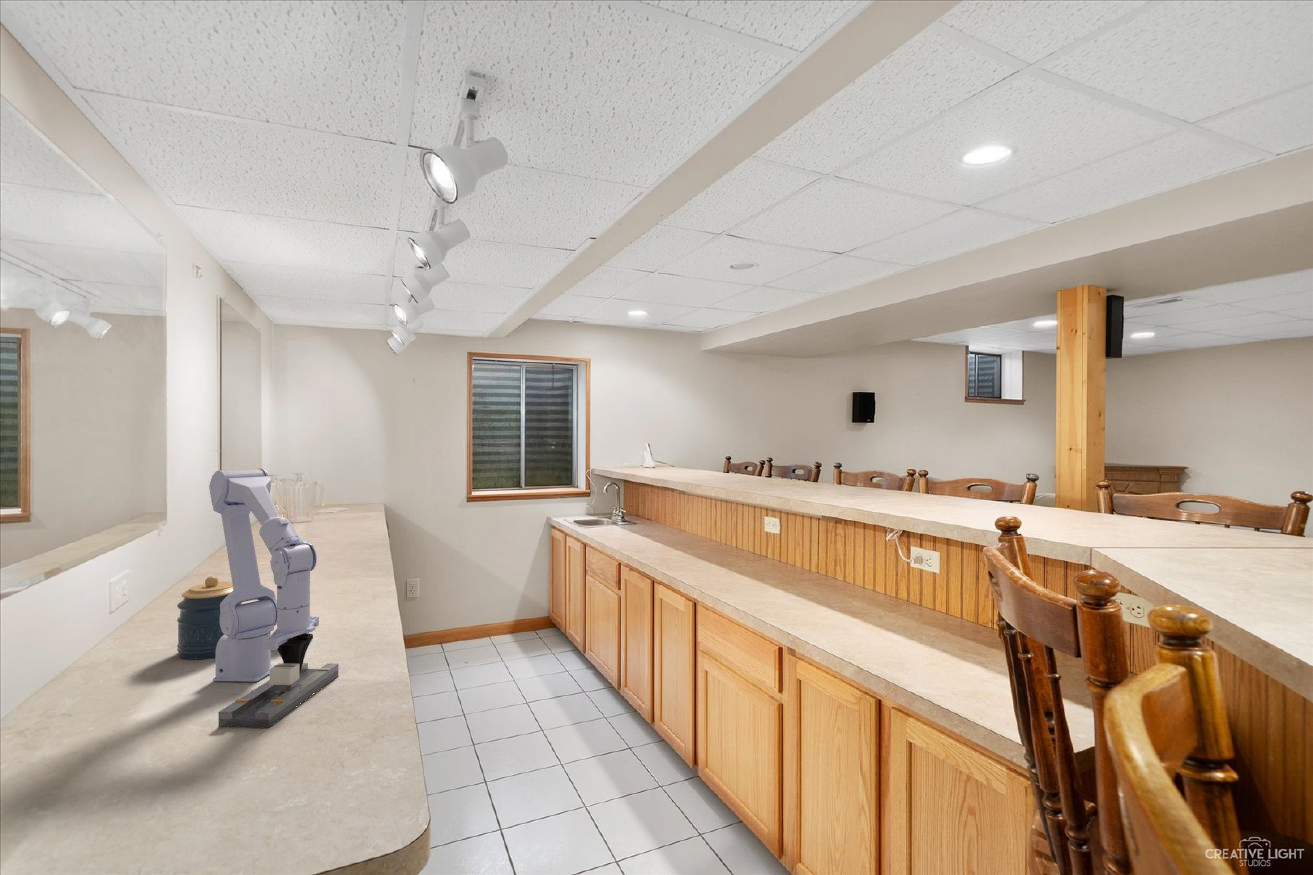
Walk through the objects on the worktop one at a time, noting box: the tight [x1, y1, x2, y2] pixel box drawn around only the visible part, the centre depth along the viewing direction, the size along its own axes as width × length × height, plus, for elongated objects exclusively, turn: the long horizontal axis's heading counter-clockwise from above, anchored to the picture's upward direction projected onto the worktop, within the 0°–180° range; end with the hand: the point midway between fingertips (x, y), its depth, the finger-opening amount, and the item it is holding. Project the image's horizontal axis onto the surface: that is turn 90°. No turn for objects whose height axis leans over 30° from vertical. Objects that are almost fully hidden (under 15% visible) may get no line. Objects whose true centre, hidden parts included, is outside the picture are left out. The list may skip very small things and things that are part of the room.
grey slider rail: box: [218, 662, 339, 729], centre depth 121 cm, size 9×23×3 cm, turn 179°
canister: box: [176, 575, 243, 660], centre depth 147 cm, size 13×13×18 cm
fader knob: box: [269, 662, 299, 692], centre depth 121 cm, size 4×3×5 cm
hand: (293, 673), depth 124 cm, fingers closed
